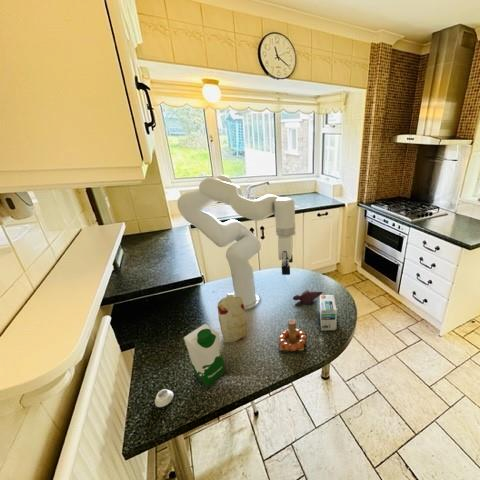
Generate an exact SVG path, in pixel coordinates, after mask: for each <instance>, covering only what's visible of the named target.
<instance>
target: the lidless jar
mask: <svg viewBox="0 0 480 480" xmlns="http://www.w3.org/2000/svg"><path fill="white" fill-rule="evenodd" d="M173 399H174V392H173V391H172V390H170V389H167V388H163V389H161V390H159V391H158V392H157V394H156V397H155V398H154V405H155V406H156V407H157V408H163V407H165V406H167V405H169V404H170V403H171V402H172V400H173Z"/></svg>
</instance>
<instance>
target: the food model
mask: <svg viewBox="0 0 480 480" xmlns="http://www.w3.org/2000/svg"><path fill="white" fill-rule="evenodd" d="M216 307H217V315H218V322H219V327H220V332H221V335H222V340H223V343H237V342H239V341H241V340H243V339H244V338H245V337H246V336H247V330H248V329H247V328H248V324H247V323H248V322H247V321H248V320H247V314H246V313H247V312H246V309H245V308H244V304H243V300H242V298H241V297H231V296H229V297H227V296H225V297H223V298H221V299H220V300H219V301H218V302H217V306H216Z"/></svg>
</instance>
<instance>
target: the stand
mask: <svg viewBox="0 0 480 480" xmlns="http://www.w3.org/2000/svg"><path fill="white" fill-rule="evenodd" d="M296 329H297V320H296V319H294V318H290V319H288V320H287V330H288V332H289V336H287V338H286V339H285V341H286V343H288V344H295V343H298V342H299V340H300V338H299V336H297V335H296ZM303 332H304V334H305V335H306V331H303ZM304 350H305V345H304V346H303V347H302V348H301V349H298V350H297V351H304ZM279 351H286V350H285V349H283V348H282V347H281V346H280V345H279Z"/></svg>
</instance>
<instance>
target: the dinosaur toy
mask: <svg viewBox="0 0 480 480" xmlns="http://www.w3.org/2000/svg"><path fill="white" fill-rule="evenodd" d="M323 294H324V292H323V291H309V290H308V289H306V290H305V291H303V292H302V293H301V294H300V295H298V294H296V295H294V296H292V299H293V301H297V302H296V303H294V307H300V306H302V305H312V304H313V301H315V300H316V299H317V298H318V297H320V295H323Z"/></svg>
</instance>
